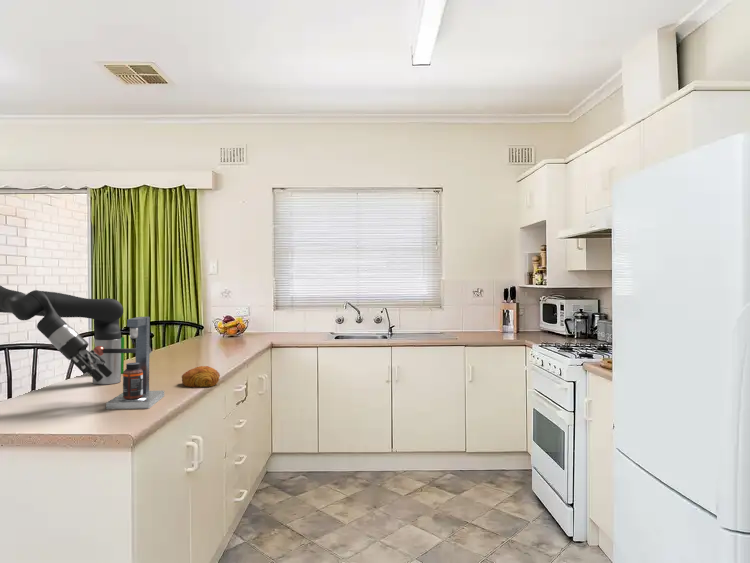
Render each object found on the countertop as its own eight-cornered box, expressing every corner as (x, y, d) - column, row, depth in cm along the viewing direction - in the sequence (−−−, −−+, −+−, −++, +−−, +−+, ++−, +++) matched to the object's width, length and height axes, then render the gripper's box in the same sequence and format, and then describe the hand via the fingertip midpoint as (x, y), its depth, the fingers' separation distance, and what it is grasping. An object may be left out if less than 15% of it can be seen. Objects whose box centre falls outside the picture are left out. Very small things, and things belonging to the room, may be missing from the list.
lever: (91, 356, 185) (91, 346, 185) (95, 355, 188) (95, 345, 188) (148, 356, 187) (148, 346, 187) (151, 355, 190) (151, 344, 190)
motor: (129, 372, 236) (129, 326, 236) (113, 375, 228) (113, 328, 228) (111, 370, 240) (111, 326, 240) (94, 374, 231) (94, 327, 231)
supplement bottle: (146, 397, 177) (147, 362, 177) (131, 400, 172) (132, 365, 172) (133, 395, 180) (134, 361, 180) (118, 398, 174) (118, 363, 174)
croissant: (219, 385, 221) (219, 365, 222) (220, 387, 206) (220, 366, 207) (181, 386, 216) (182, 366, 218) (180, 388, 202) (181, 366, 203)
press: (106, 409, 170) (106, 320, 169) (125, 396, 187) (126, 316, 187) (149, 408, 171) (149, 320, 171) (164, 396, 189) (164, 316, 189)
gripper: (68, 347, 180) (104, 381, 181) (49, 352, 166) (88, 389, 167) (86, 331, 181) (121, 366, 182) (68, 335, 167) (106, 372, 168)
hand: (105, 377), depth 175 cm, fingers open, 8 cm apart
